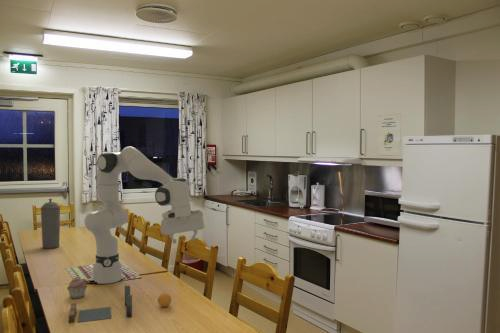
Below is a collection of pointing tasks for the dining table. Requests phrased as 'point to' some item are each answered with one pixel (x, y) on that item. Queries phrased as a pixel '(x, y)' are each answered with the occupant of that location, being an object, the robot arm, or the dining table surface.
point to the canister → (50, 224)
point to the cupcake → (77, 287)
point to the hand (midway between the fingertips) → (184, 241)
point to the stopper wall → (72, 313)
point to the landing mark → (94, 314)
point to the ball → (164, 300)
